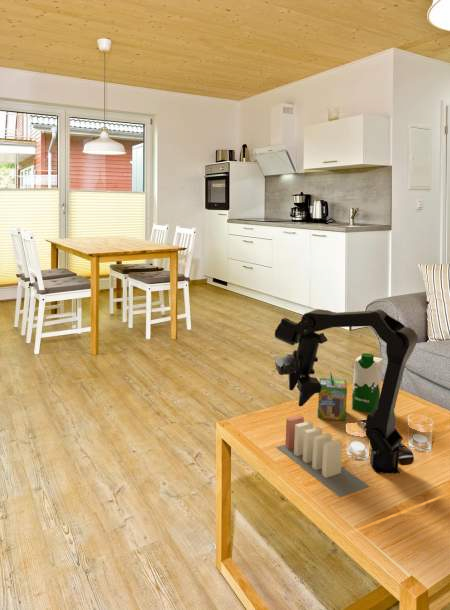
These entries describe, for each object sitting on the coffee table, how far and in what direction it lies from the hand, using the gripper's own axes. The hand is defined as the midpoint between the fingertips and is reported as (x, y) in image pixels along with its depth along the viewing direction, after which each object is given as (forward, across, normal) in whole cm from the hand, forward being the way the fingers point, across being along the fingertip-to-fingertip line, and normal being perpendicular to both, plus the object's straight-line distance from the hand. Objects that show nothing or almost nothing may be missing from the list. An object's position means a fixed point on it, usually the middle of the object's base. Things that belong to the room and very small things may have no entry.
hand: (295, 397), depth 153 cm
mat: (+10, +20, +3) cm, 22 cm away
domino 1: (+12, +8, -1) cm, 14 cm away
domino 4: (+9, +20, +3) cm, 22 cm away
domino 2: (+11, +12, +1) cm, 16 cm away
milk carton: (+11, -15, +33) cm, 38 cm away
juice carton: (+13, -11, +20) cm, 26 cm away
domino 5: (+8, +24, +4) cm, 26 cm away
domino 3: (+10, +16, +2) cm, 19 cm away
